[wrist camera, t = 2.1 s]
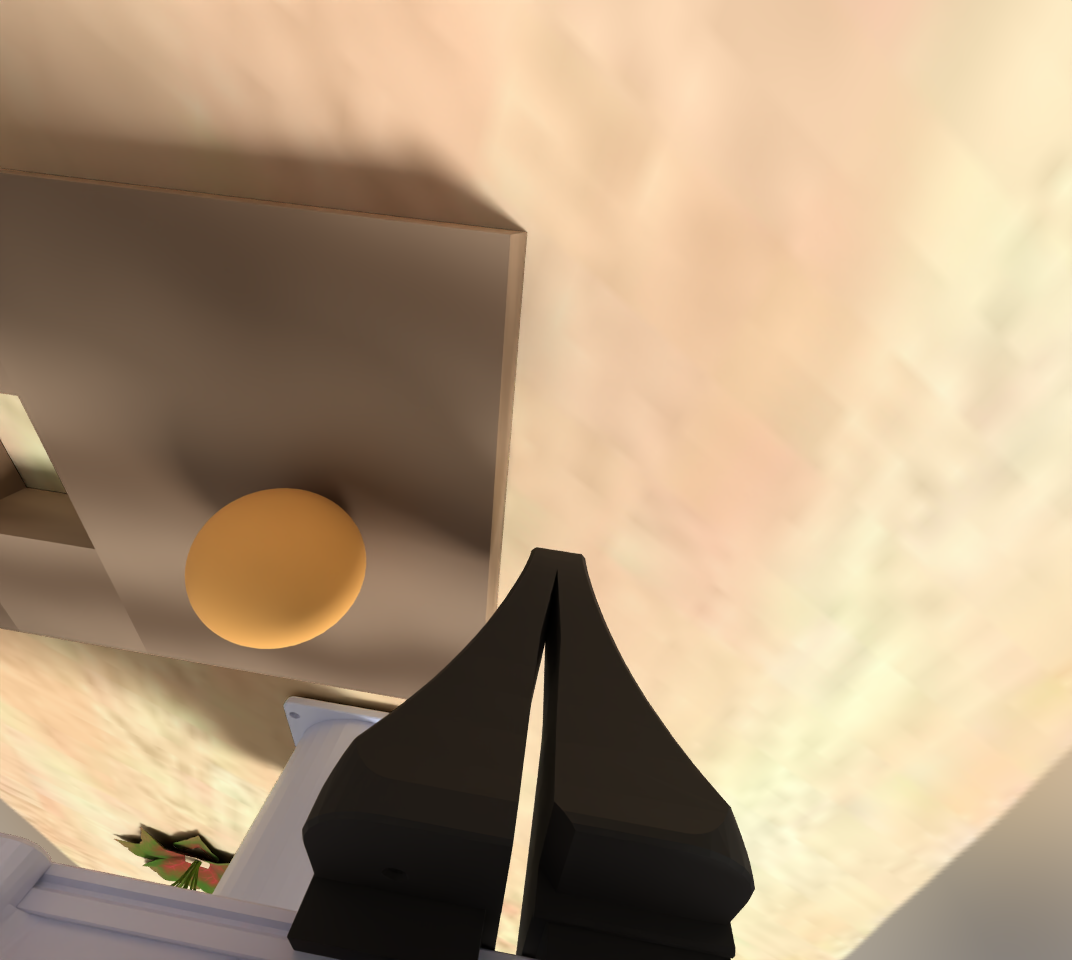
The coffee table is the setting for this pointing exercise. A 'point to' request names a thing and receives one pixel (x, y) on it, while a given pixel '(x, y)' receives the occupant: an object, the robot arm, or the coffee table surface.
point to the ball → (275, 568)
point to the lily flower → (179, 862)
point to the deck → (254, 413)
